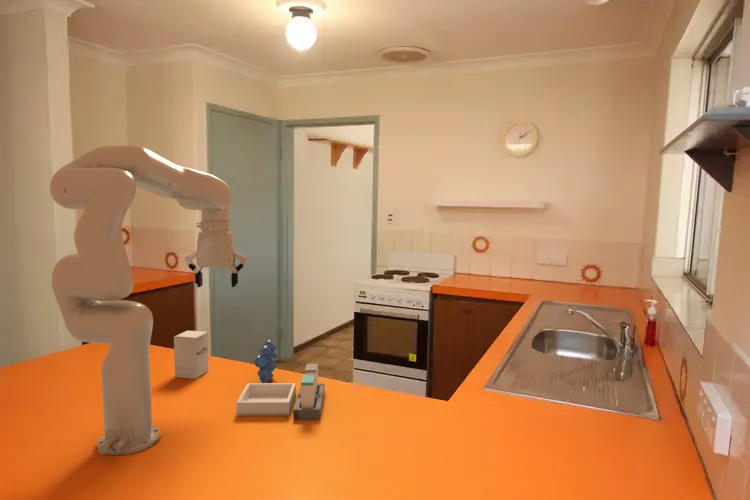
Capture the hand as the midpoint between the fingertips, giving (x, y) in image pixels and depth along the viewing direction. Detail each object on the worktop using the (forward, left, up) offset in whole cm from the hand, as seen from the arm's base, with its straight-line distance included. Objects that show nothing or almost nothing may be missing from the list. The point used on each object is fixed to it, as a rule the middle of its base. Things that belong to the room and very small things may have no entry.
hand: (216, 286), depth 149 cm
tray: (-18, -17, -28) cm, 38 cm away
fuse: (-13, -28, -28) cm, 42 cm away
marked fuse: (-22, -28, -28) cm, 46 cm away
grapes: (0, -13, -28) cm, 31 cm away
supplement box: (+6, +10, -28) cm, 30 cm away
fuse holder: (-18, -28, -28) cm, 44 cm away
